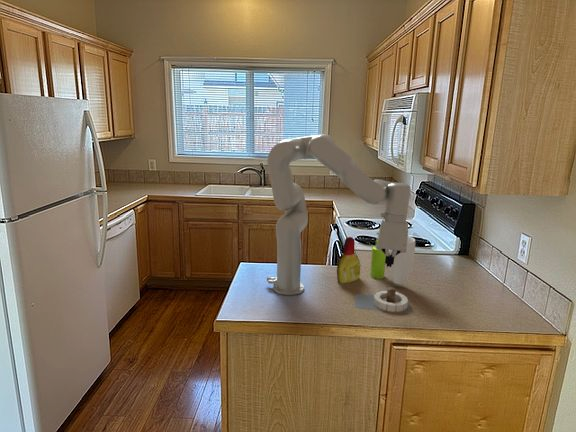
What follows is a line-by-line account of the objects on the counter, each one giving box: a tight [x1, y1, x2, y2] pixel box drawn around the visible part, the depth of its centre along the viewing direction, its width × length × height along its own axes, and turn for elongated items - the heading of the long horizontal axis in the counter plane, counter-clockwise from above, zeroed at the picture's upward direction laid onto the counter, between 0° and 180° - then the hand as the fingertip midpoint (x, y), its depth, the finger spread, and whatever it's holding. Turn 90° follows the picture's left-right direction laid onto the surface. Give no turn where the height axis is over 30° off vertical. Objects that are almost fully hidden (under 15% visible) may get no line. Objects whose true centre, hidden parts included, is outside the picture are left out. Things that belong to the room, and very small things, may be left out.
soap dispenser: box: [369, 231, 386, 280], centre depth 174 cm, size 6×7×20 cm
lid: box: [382, 286, 399, 303], centre depth 148 cm, size 6×6×6 cm
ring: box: [373, 290, 409, 313], centre depth 149 cm, size 12×12×2 cm
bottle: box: [336, 236, 361, 284], centre depth 168 cm, size 12×6×20 cm, turn 123°
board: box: [354, 293, 412, 315], centre depth 150 cm, size 20×12×1 cm, turn 79°
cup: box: [389, 235, 416, 285], centre depth 162 cm, size 10×10×22 cm
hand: (388, 265), depth 147 cm, fingers closed
